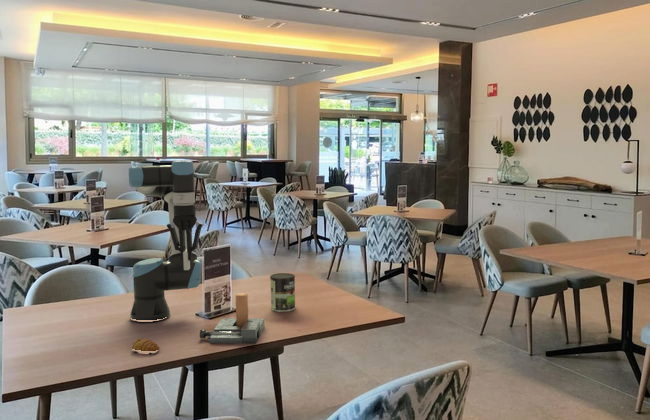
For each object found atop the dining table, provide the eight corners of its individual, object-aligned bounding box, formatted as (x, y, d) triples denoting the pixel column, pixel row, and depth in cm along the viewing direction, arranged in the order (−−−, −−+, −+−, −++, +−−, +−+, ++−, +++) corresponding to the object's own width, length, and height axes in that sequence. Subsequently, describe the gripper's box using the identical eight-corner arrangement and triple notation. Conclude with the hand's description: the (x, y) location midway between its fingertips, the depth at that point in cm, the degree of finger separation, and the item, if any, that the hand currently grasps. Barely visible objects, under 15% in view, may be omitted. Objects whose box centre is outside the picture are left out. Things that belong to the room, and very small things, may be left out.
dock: (206, 343, 197) (205, 329, 196) (218, 326, 215) (218, 313, 214) (255, 343, 196) (255, 329, 195) (264, 326, 214) (264, 313, 213)
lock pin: (199, 339, 200) (199, 331, 199) (202, 336, 203) (201, 328, 202) (248, 339, 199) (248, 331, 198) (249, 336, 202) (249, 328, 201)
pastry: (164, 350, 191) (164, 339, 191) (150, 357, 185) (149, 346, 185) (143, 346, 195) (142, 336, 195) (129, 353, 189) (128, 342, 189)
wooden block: (238, 330, 211) (236, 293, 209) (249, 330, 210) (248, 293, 209) (235, 333, 206) (234, 296, 205) (247, 334, 206) (246, 296, 204)
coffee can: (300, 307, 238) (299, 274, 237) (284, 313, 230) (283, 279, 229) (282, 303, 245) (281, 271, 243) (265, 309, 236) (264, 276, 235)
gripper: (162, 205, 198) (165, 271, 200) (199, 205, 197) (202, 271, 200) (169, 203, 205) (172, 267, 208) (205, 202, 204) (207, 267, 207)
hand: (187, 269), depth 204 cm, fingers closed
